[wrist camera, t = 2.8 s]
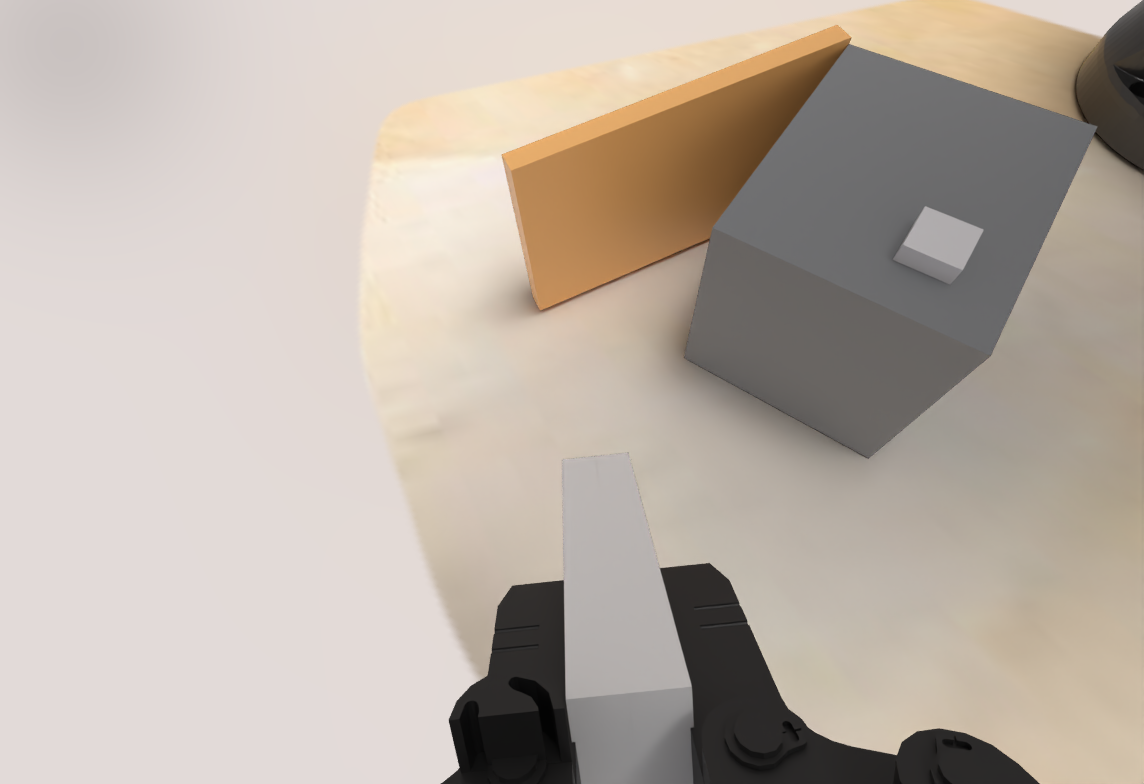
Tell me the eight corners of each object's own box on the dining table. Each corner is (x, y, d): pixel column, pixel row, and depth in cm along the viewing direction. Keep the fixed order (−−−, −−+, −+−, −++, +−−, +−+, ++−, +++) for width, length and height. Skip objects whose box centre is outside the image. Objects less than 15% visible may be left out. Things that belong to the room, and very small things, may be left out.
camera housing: (806, 180, 35) (879, -6, 26) (976, 250, 32) (1131, 69, 23) (683, 357, 31) (715, 212, 21) (868, 458, 28) (1005, 343, 18)
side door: (771, 183, 35) (826, 14, 26) (789, 204, 34) (851, 37, 25) (527, 286, 33) (494, 142, 24) (540, 310, 32) (510, 170, 23)
